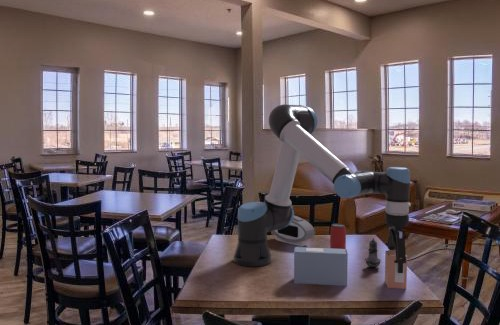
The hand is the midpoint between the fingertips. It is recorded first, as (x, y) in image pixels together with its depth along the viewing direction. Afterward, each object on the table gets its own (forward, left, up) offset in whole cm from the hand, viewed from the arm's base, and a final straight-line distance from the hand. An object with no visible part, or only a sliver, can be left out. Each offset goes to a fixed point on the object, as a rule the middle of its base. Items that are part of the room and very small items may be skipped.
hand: (395, 274), depth 143 cm
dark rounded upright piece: (-5, +17, -4) cm, 18 cm away
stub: (0, 0, -4) cm, 4 cm away
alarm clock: (-38, +51, -4) cm, 64 cm away
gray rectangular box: (-25, 0, -4) cm, 26 cm away
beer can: (-17, +38, -4) cm, 42 cm away
